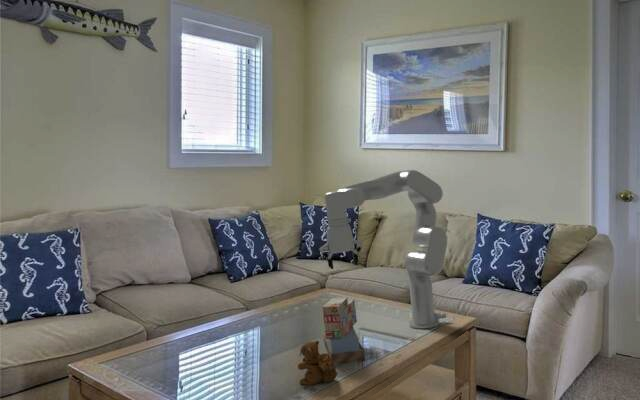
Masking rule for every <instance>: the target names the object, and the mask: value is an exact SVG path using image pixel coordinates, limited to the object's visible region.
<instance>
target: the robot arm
mask: <svg viewBox="0 0 640 400" xmlns="http://www.w3.org/2000/svg"><path fill="white" fill-rule="evenodd" d="M403 192H407V196H408V199H409V201H410V202H411V203H412V205H413V206H414V209H415V211H416V214H415V215H416V216H415V223H414V227H413V234H412V244H413V245H414V246H415V247H417V248H421V249H426V250H425V251H423V250H413V251H412V250H411V251H410V252H409V253H407V255H406V256H405V258H404V266H405V271H406V275H407V278H408V287H409V295H410V304H411V305H410V306H411V316H412V320H410V321H409V327H410V328H412V329H422V330H423V329H432V328H435V327H438V326H439V325H440V319H446V318H447V313H445V312H443V313H440V312H438V313H437V312H435V311H436V310H435V305H434V303H435V302H434V292H433V284H432V283H433V282H432V279H431V277H434V276H437V275H439V274H440V273H441V271H442V270H443V267H444V263H445V257H446V251H447V246H448V235H447V232H446V230H445V229H444V228H442V227H440V226H436V223H437V210H436V207H435V205H434V204H437V203H439V202H440V201H441V200H442V198H443V195H444V194H443V189H442V186H440V184H438V183H437V182H436V181H434V180H433V179H431V178H430V177H428V176H426V175H425V174H424V173H422V172H419V171H418V170H415V169H409V170H408V169H407V170H399V171H396V172H393V173H389V174H386V175H382V176H379V177H377V178H372V179H369V180H366V181H362V182H359V183H355V184H352V185H349V186H345V187H342V188H339V189H338V190H336V191H334V190H333V191H329V192H326V193H325V194H324V201H325V202H324V203H325V210H326V216H327V224H328V227H326V243H325V244H324V245H322V246H321V247H319V248H318V250H319V251H320V253H321V254H322V256H323V257H324V258H326V259H327V266H328V268H330V269H331V270H334V262H333V258H332V257H333V255H334V254H338V253H339V254H340V253H345V252H346V253H347V252H350V251H351V253H352V261H353V265H355V266H358V263H359V256H358V255H359V253H360V251H361V250H362V246H363V244H364V243H363V241H361V240H357V239H354V236H353V232H352V228H351V225H350V224H349V223H351V222H352V219H351V217H348V215H347V209H348V208H357V207H358V208H359V207H361V206H362V205H363V204H364V203H365V201H373V200H374V201H375V200H380V199H385V198H388V197H390V196H394V195H396V194H399V193H403ZM355 244H357V246H356V247H355ZM326 249H327V251H328V252H327V253H326V252H325V250H326Z"/></svg>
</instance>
